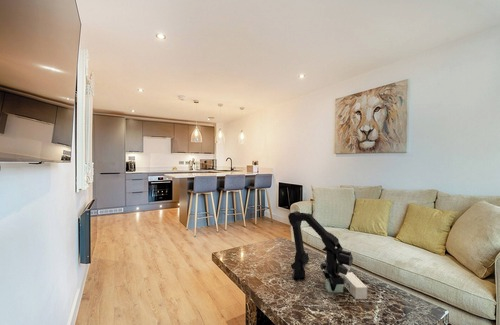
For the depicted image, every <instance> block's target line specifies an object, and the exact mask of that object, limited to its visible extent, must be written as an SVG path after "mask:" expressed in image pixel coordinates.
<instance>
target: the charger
mask: <svg viewBox="0 0 500 325" xmlns="http://www.w3.org/2000/svg"><path fill="white" fill-rule="evenodd" d="M344 287H345V288H346V287H347V285H346V284H337V285H336V288H335V291H332V289H331V286H330V283H329V280H328V279H325V290H326V291H327V292H328V293H344Z"/></svg>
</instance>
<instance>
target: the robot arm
mask: <svg viewBox="0 0 500 325" xmlns="http://www.w3.org/2000/svg"><path fill="white" fill-rule="evenodd" d="M287 217H288V223H289V224H290V226H291V227H292V231H293V232H292V233H293V239H294V245H295V246H294V247H295V253H294V262H293V263H291V265H290V267H291V269H292V279H293V280H294V281H306V270H305V267H306V266H307V265H308V263H309V261H310V258H309V252H306V251H305V249H304V240H303V233H302V222H306V223H307V224H308V225H309V227H311V229H312V230H313V231H314V232H315V233H316V234H317V235H318V236H319V237H320V239H321V241H322V243H323V244H324V248H323V249H322V251H324V252H325V253H326V254H325V256H326V260H325V259H324V262H322V263H320V264H319V267H320V270H321V271H322V274H323V276H324V279H325V280H326V279H328V280H329V283H330V286H331V289H332V291H335V288H336V285H337V284H344V279H343V278H342V277H341V276H340V275H338V274H339V272H340V273H342V274H344V275H347V272H348V269H347V268H346V267H345V266H344V265H343V264H345V265H348V266H351V267H352V265H353V261H354V257H353V255H352V252H351V251H346V250H344V247H342V245H341V243H340V241H339V238H338V237H337V236H335V235H334V233H331V232H329V231H328V230H326V228H324V227H323V226H322V225H321V224H320V223H319V222H318V221H317V220H316V219H315V218H314V216H313V214H311V213H309V212H308V213H307V212H300V211H297V210H296V211H292V212H289V214H288V216H287ZM337 261H338V263H337Z"/></svg>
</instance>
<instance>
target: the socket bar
mask: <svg viewBox="0 0 500 325" xmlns="http://www.w3.org/2000/svg"><path fill="white" fill-rule="evenodd" d="M342 278H343V279H344V284H346V285H347V287H345V288H346V289H347V291H348V292H349V293H350V294H351V295H352V296H353V298H354V299H355V300H367V299H368V286H366V285H365V284H364V283H363V282H362V281H361V279H359V278H358V277H357V275H355V274H354V272H350V271H349V272H347V275H344V274H342Z"/></svg>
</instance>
